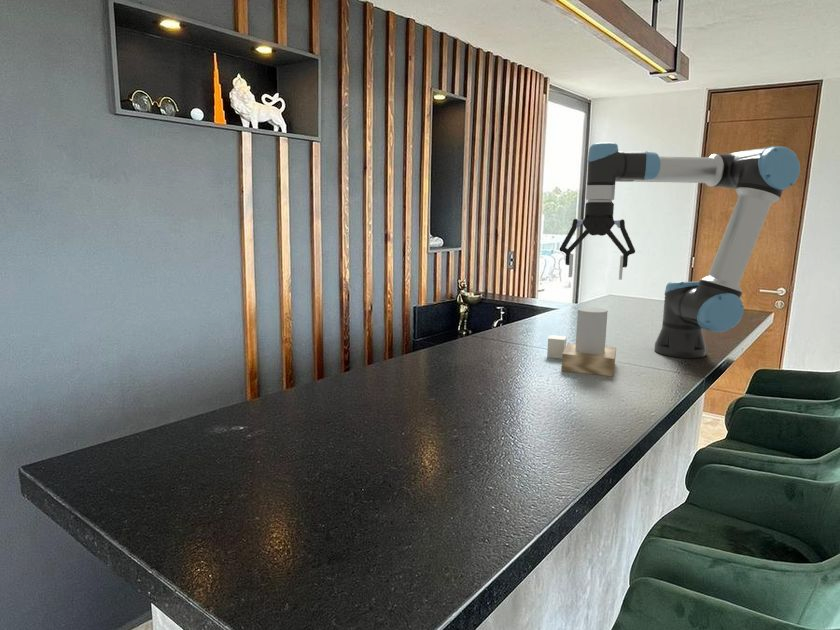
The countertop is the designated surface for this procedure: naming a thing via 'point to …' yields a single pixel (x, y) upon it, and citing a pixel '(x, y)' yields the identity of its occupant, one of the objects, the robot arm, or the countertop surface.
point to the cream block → (556, 346)
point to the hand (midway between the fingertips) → (595, 278)
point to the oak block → (588, 361)
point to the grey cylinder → (591, 330)
